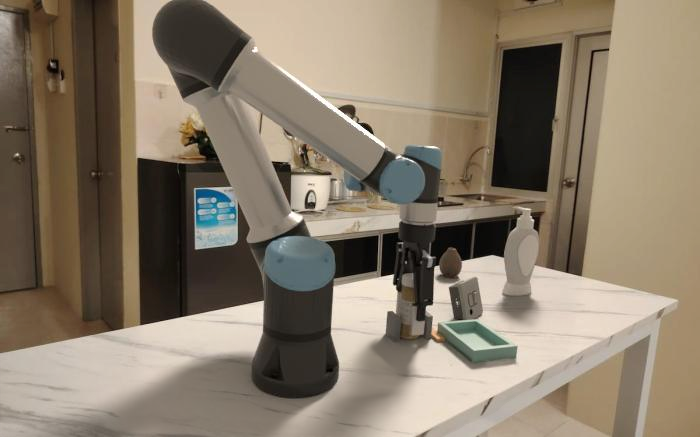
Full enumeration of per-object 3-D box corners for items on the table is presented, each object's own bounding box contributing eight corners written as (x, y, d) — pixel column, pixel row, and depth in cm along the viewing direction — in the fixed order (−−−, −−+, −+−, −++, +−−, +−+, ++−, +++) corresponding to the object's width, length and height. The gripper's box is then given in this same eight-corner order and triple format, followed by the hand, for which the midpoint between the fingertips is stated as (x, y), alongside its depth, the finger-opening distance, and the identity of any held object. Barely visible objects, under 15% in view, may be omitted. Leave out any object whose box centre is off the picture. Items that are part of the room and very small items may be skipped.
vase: (438, 277, 146) (441, 250, 145) (438, 271, 153) (440, 245, 151) (461, 280, 145) (464, 252, 144) (460, 273, 152) (462, 247, 150)
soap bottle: (519, 285, 143) (529, 205, 139) (540, 293, 136) (551, 209, 132) (486, 289, 137) (496, 206, 133) (506, 298, 130) (517, 210, 126)
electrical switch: (467, 324, 111) (467, 285, 110) (446, 320, 114) (447, 282, 113) (483, 314, 118) (484, 277, 117) (464, 310, 121) (464, 274, 120)
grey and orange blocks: (397, 345, 97) (399, 322, 96) (382, 329, 104) (384, 308, 103) (445, 340, 101) (447, 318, 100) (427, 326, 108) (429, 305, 107)
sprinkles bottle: (414, 331, 105) (419, 272, 102) (422, 340, 100) (427, 278, 98) (394, 331, 104) (399, 272, 101) (401, 340, 99) (406, 279, 97)
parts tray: (472, 362, 91) (474, 350, 91) (437, 333, 104) (438, 322, 104) (516, 357, 95) (517, 346, 94) (476, 329, 108) (477, 319, 107)
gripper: (459, 231, 90) (447, 345, 94) (412, 213, 108) (405, 309, 112) (423, 231, 87) (413, 348, 91) (382, 213, 106) (375, 311, 110)
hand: (408, 326), depth 102 cm, fingers open, 7 cm apart
